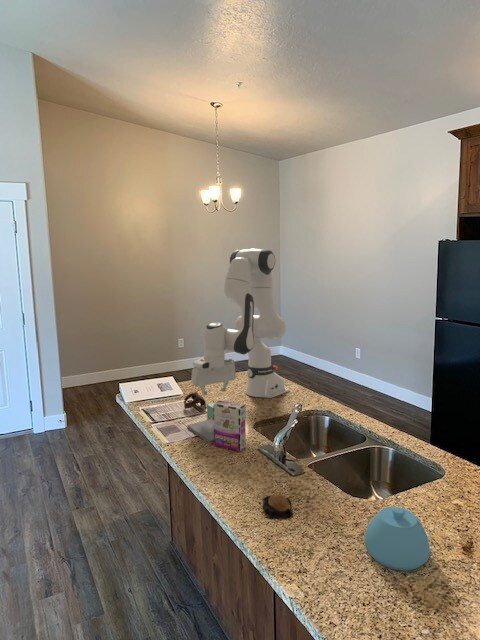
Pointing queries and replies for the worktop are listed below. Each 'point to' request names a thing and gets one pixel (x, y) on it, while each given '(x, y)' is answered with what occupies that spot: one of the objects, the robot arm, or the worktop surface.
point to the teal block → (210, 410)
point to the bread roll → (277, 507)
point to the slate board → (204, 430)
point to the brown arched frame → (194, 400)
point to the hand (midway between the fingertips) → (214, 392)
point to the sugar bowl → (397, 539)
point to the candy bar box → (229, 425)
